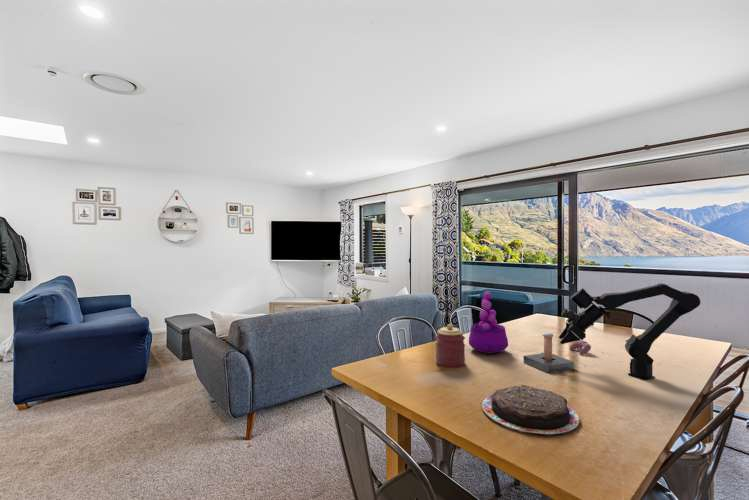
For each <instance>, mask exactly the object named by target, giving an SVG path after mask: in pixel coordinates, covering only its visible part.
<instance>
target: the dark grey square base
mask: <svg viewBox="0 0 749 500" xmlns="http://www.w3.org/2000/svg"><path fill="white" fill-rule="evenodd" d="M523 363H524V364H526V365H528V366H530V367H534V368H536V369H537V370H540V371H542V372H544V373H547V374H550V373H558V372H563V371H569V370H574V369H575V361H573V360H570V359H567V358H564V357H562V356H559V355H556V354H553V353H552V360H551V361H547V360H544V352H542V353H536V354H535V353H534V354H529V355H528V354H527V355H523Z"/></svg>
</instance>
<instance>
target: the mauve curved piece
mask: <svg viewBox="0 0 749 500" xmlns="http://www.w3.org/2000/svg"><path fill="white" fill-rule="evenodd" d="M591 346H592V345H591V344H589V343H588V342H587V341H586V340H584V339H583V340H581V339H580V341H579V340H578V341H574V342H572V344H570V346H569V350H570V351H574V350H576V349H577V352H578V353H579V355H580V356H584V355H587V353H589V352H590V351H591V349H592V347H591Z"/></svg>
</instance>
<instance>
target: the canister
mask: <svg viewBox="0 0 749 500" xmlns="http://www.w3.org/2000/svg"><path fill="white" fill-rule="evenodd" d="M436 332H437V334H436V335H435V336H434V337H435V339H436V342H435V363H436V364H437V365H438V366H441V367H446V368H459V367H462V366H464V365H465V362H466V358H465V357H466V356H465V353H466V352H465V346H466V345H465V342H464V341H465V339H466V338H465V336H464V335H463V331H462V330H461V329H460V328H457V327H454V326H453V324H451V323H449V324H447V325H446V326H445V327H441V328H439V329H438V330H437V331H436Z"/></svg>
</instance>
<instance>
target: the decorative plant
mask: <svg viewBox="0 0 749 500" xmlns="http://www.w3.org/2000/svg"><path fill="white" fill-rule="evenodd" d="M491 298H492V293H491V292H490V291H488V290H487V291H484V294H483V298H482V299H481V308H482V310H480V312H479V319H480V321H479V322H478V323H473V324H472V325H471V326H470V332H469V336H468V344H469V346H470V347H471V348H472V349H473V350H476V351H479V352H481V353H487V354H495V353H500V352H504V351H505V350H506V349H507V347H508V346H509V340H508V337H507V332H506V327H505V326H504V325H502V324H498V321H497V319H496V316H497V312H496V310H494V309H491V308H492V302H491V301H490V299H491Z"/></svg>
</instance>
